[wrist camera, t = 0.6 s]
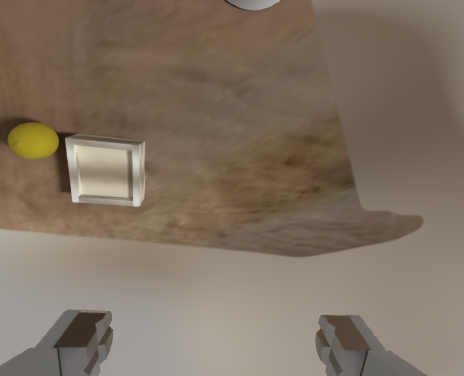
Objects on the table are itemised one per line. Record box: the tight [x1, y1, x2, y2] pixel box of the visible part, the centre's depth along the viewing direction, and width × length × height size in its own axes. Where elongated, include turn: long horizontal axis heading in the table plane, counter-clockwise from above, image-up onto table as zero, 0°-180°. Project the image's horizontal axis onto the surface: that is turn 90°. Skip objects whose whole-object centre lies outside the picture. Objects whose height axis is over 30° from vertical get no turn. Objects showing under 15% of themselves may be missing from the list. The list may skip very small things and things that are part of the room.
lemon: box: [8, 122, 59, 159], centre depth 38 cm, size 6×6×8 cm
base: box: [65, 133, 145, 207], centre depth 42 cm, size 11×11×4 cm
